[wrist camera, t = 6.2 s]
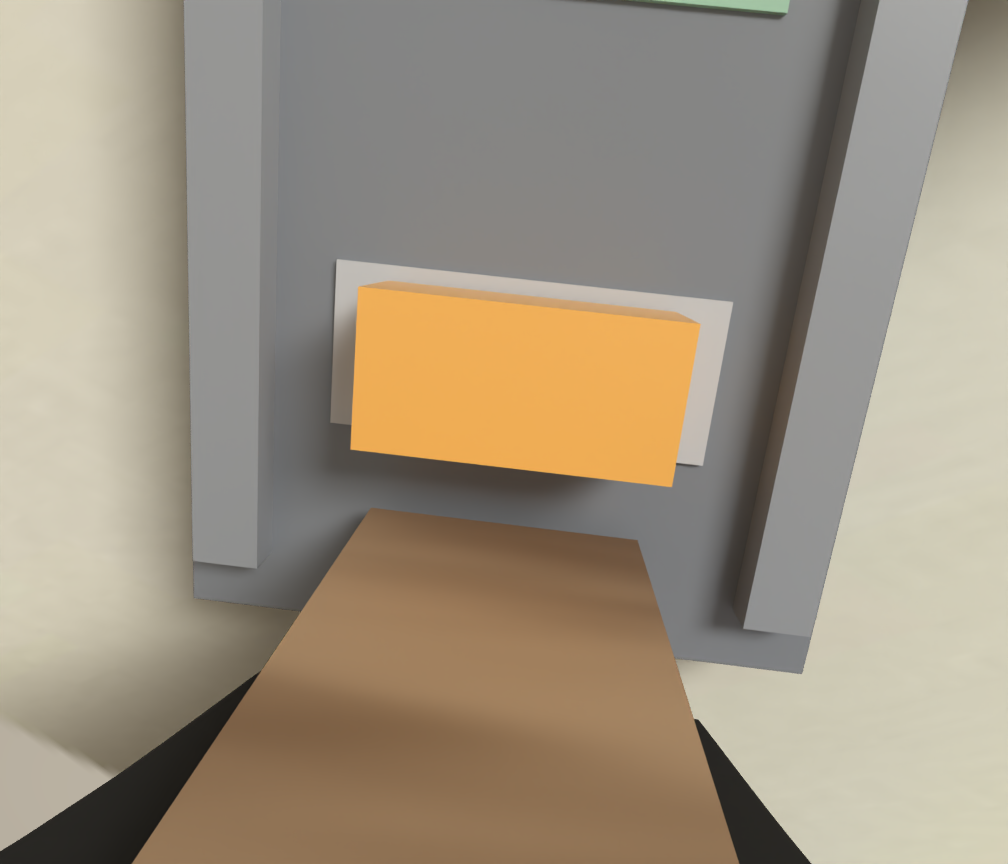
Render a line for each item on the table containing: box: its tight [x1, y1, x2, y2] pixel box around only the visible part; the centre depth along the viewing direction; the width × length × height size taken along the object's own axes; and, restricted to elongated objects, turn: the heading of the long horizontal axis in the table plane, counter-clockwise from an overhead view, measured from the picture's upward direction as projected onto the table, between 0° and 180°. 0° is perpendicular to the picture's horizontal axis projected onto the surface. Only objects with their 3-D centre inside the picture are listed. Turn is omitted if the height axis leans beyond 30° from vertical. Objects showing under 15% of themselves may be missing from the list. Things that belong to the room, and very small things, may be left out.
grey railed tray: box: [184, 0, 968, 674], centre depth 10 cm, size 14×10×3 cm
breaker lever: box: [350, 280, 701, 487], centre depth 9 cm, size 2×4×2 cm, turn 84°
